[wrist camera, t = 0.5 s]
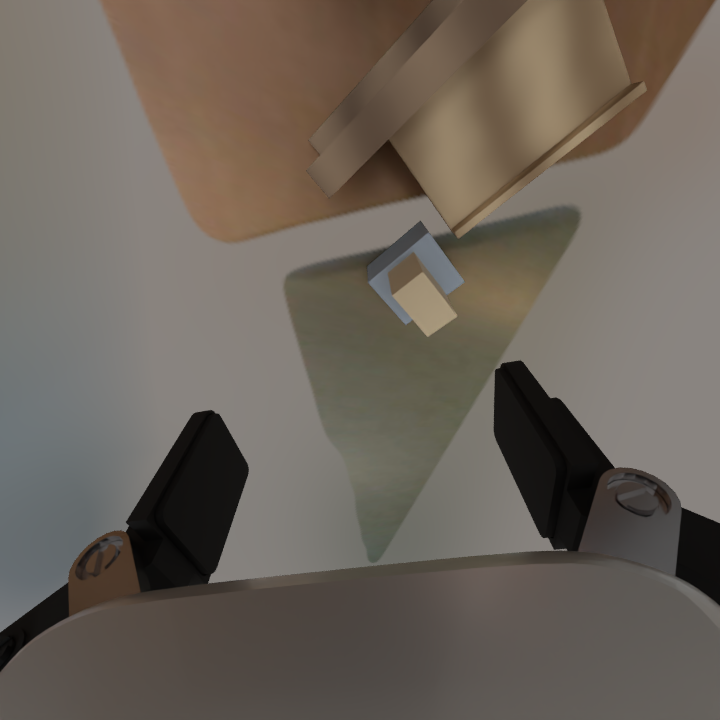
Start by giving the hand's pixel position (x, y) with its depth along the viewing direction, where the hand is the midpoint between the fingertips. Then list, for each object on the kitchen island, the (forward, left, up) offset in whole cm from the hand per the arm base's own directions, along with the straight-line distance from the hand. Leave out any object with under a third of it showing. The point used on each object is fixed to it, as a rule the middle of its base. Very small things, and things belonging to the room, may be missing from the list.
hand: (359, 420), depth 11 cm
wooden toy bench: (-14, -3, -27) cm, 31 cm away
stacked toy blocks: (-2, +6, -27) cm, 28 cm away
